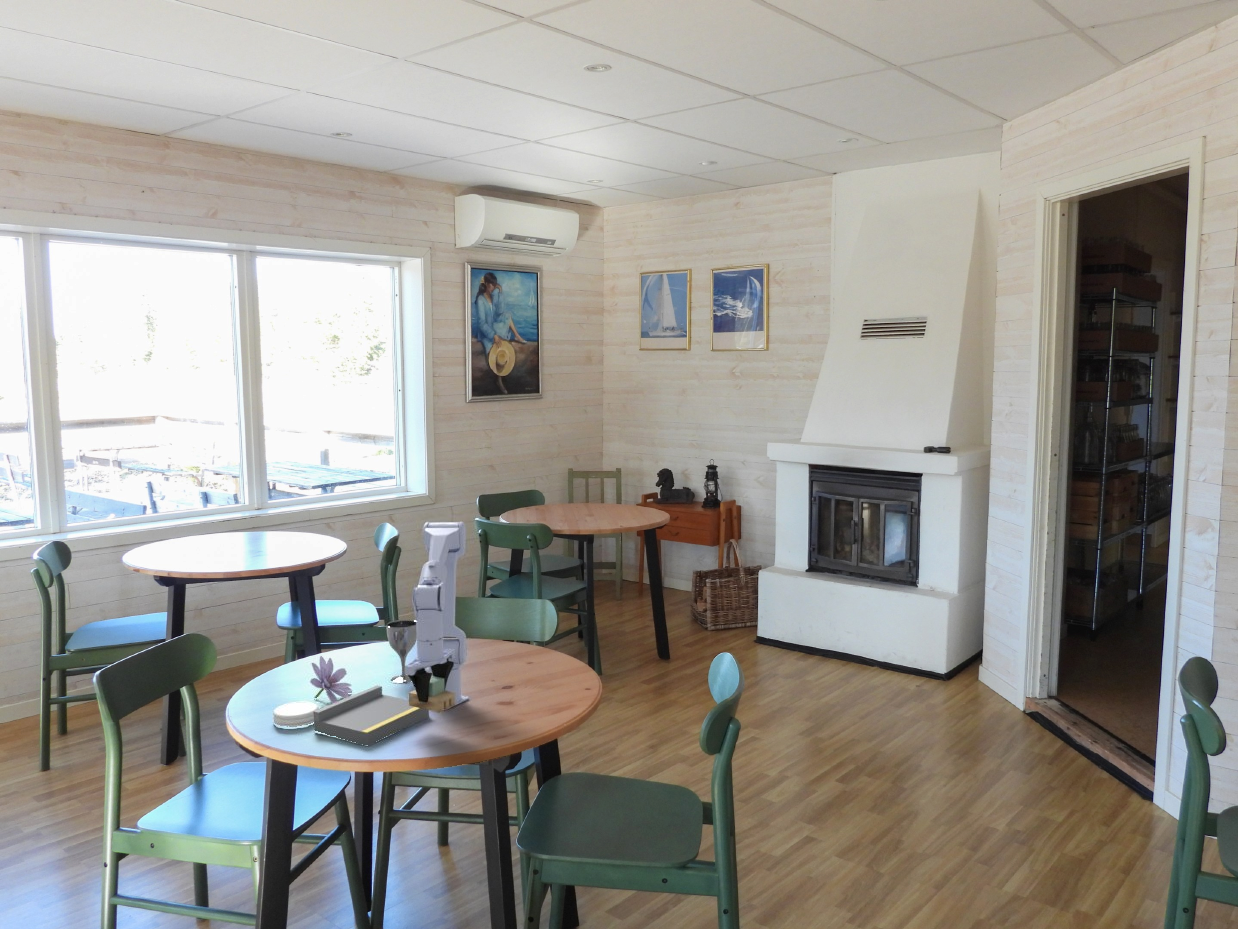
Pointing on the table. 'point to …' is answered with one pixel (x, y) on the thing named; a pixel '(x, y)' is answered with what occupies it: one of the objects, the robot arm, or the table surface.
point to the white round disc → (295, 714)
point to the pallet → (433, 701)
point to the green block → (436, 686)
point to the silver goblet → (402, 642)
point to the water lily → (330, 680)
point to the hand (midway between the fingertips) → (431, 697)
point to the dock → (367, 716)
